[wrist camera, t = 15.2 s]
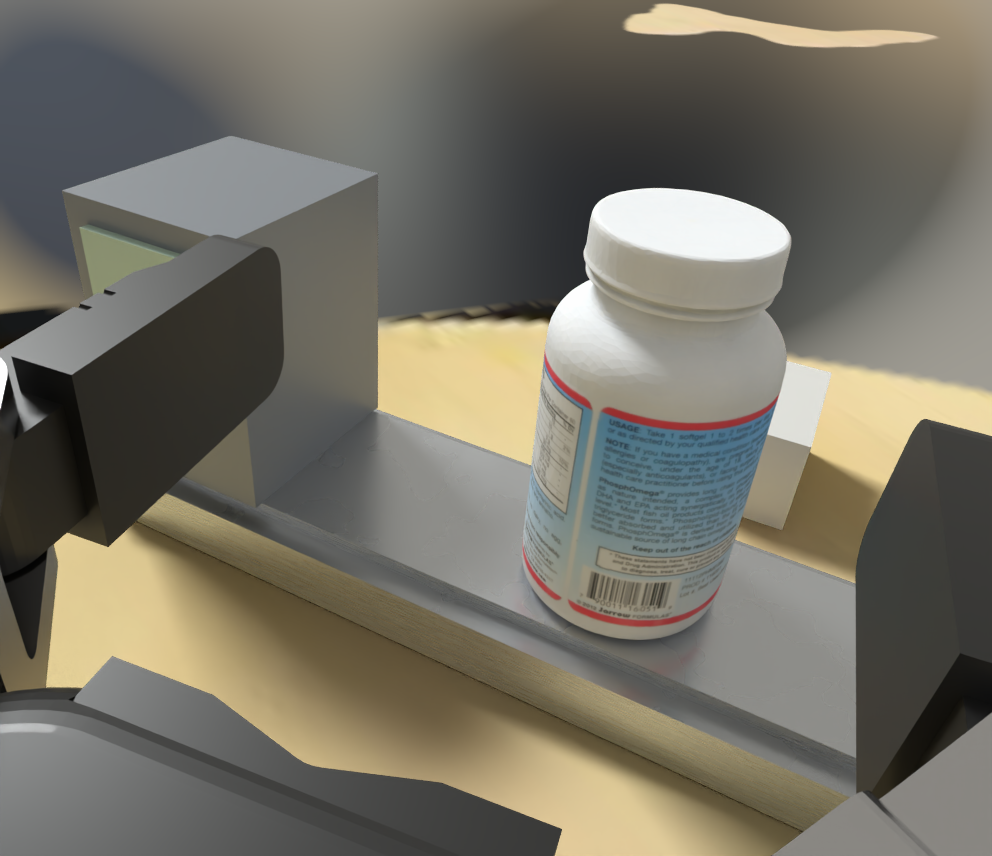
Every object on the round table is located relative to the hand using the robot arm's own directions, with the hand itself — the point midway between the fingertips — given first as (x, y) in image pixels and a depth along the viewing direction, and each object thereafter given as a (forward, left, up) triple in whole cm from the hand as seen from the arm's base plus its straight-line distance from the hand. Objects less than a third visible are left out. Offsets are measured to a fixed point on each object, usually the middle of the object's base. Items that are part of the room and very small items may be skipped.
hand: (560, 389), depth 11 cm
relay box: (+22, -1, -15) cm, 27 cm away
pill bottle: (+11, +1, -13) cm, 17 cm away
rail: (+11, +1, -15) cm, 19 cm away
